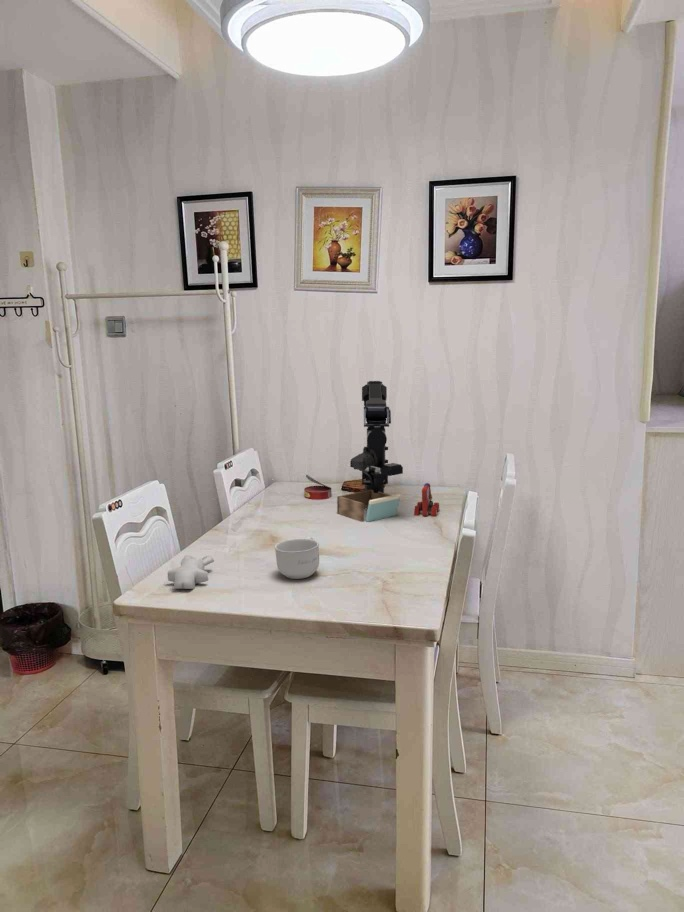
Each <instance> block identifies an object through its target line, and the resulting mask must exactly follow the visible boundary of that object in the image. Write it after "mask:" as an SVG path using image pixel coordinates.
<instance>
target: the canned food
mask: <svg viewBox="0 0 684 912" xmlns="http://www.w3.org/2000/svg"><path fill="white" fill-rule="evenodd" d="M305 477H306V479H308V480H309V481H310V482H312V483H315V484H317V485H311V486H306V487H305V488H304V498H305V499H308V500H312V501H313V500H315V501H321V500H327V499H330V498H332V497H333V496H332V487H331V486H327V485H325V484H323V483H321V482H320V481H318V480H316V479H315V478H313V477H311V476H310V475H309V474H305Z"/></svg>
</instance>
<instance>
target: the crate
mask: <svg viewBox="0 0 684 912" xmlns="http://www.w3.org/2000/svg"><path fill="white" fill-rule="evenodd" d="M391 495H392V494H389V493H387V492H384V493H382V492H378V493H374V492H373V490H367V491H365V490H363V491H358V492H353V493H348V494H342V495H337V496H336V497H337V498H336V502H337V503H336V504H337V507H336V508H337V510H336V511H337V512H336V513H337V515H340V516H343V517H345V518H349V519H352V520H355V521H357V522H361V523H363V522H364V521H365V516H364V515H365V512H364V511H365V510H366V509H368V505H369V500H373V499H377V498H382V497H387V496H391Z"/></svg>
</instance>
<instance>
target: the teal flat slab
mask: <svg viewBox="0 0 684 912" xmlns="http://www.w3.org/2000/svg"><path fill="white" fill-rule="evenodd" d="M390 495H391V496H387V497H382V498H377V499H373V500H369V505H368V508H367V510H366V517H365V519H364V521H365V522H366V523H369V522H373V521H377V520H382V519H386V518H390V517H395V516H397V515H398V514H397V513H398V508H399V503H400V499H401V494H399V493H397V494H390Z"/></svg>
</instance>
